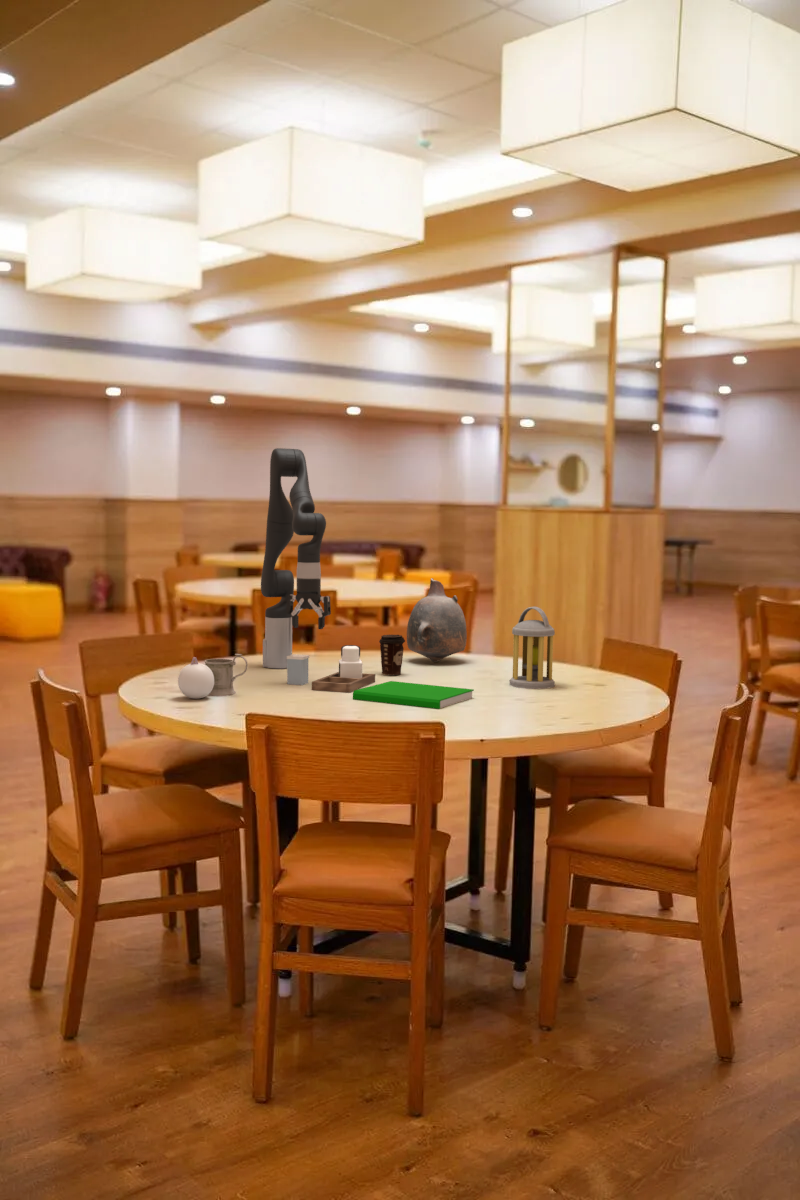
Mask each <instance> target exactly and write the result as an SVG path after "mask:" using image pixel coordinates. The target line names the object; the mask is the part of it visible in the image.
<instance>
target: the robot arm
mask: <svg viewBox="0 0 800 1200" xmlns="http://www.w3.org/2000/svg"><path fill="white" fill-rule="evenodd" d="M269 463H270V464H269V465H270V466H269V497H268V508H267V509H268V510H267V517H266V518H267V519H266V530H265V531H266V532H265V536H266V537H265V549H264V557H263V565H262V569H261V570H262V571H261V578H260V590H261V591H260V592H261V595H262V596H263V597H265V598H281V599H280V601H279V602H277V603H276V604H274V605H272V606H269V607H266V609H265V611H264V612H265V614H264V615H265V617H264V619H265V620H264V624H265V625H264V626H265V629H264V631H265V633H264V634H265V635H264V638H263V639H262V668H269V669H287V656H289V655H293V628H294V629H297V628H299V614H300V612H301V611H303V610H313V611H315V613H316V614H317V615H318V619H317V620H318V622H317V623H318V624H317V625H318V627H317V629H318V630H323V629H324V628H325V626H326V625H325V624H326V623H325V622H326V621H325V620H326V617H327V616H330V615H331V614H332V613H331V612H332V611H331V610H332V609H331V596H329V595H326V596H325V595H324V596H322V595H321V590H322V589H321V583H322V582H321V580H322V579H321V578H322V573H321V572H322V571H321V569H322V568H321V547H322V542H323V537H324V534H325V532H326V528H327V519H326V518H325V516H324V514H322V513H319V512H315V510H316V508H315V507H316V506H315V503H314V499H313V496H312V494H311V489H310V482H309V475H308V474H309V473H308V467H307V461H306V456H305V453H304V452H303V450H301V449H299V448H298V449H297V448H283V447H282V448H281V447H280V448H279V447H278V448H277V447H276V448H274V449H273V450H272V452H271V454H270V461H269ZM282 477H285V478H286V477H287V478H297V479H296V481H295V482H294V483H293V485H292V486H291V488H290V492H289V497H288V498H289V500H288V498H287V497H286V495H285V492H284V490H283V487H282ZM294 533H295V534H296V535H297V536H312V538H311V540H310V541H308V542H303V543H300V544H298V546H297V565H296V566H297V567H296V595H294V593H295V577H294V574H293V571H291V570H289V569H275V568H276V564H277V561H278V559H279V557H280V555H281V554H282V553H283V551H284V550H285V548H286V547H287V546H288V544H289V543H290V542H291V540H292V538H293V536H294ZM295 601H296V602H297V604H296V606H295V607H294V602H295ZM320 603H323V607H322V605H321V604H320Z"/></svg>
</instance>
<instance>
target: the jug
mask: <svg viewBox="0 0 800 1200" xmlns="http://www.w3.org/2000/svg"><path fill="white" fill-rule="evenodd" d="M429 583H430V584H429V590H428V594H427V596H425V597H423V598H421V599H420V600H418V601H417V602H416V604H415V605H414V606H413V609H412V611H411V612H410V616H409V618H408V621H407V627H406V645H407V649H409V650H410V651H412V652H414V653H416V654H419V655H421V656H423V657H425V658H427V659H429V660H431V661H432V662H434V663H435V662H436V663H437V662H439V661H442V660H444V659H446V658H447V657H449V656H451V655H455V654H458V653H460V652H464V650H466V646H467V641H468V640H467V639H468V638H467V637H468V635H467V634H468V633H467V631H468V630H467V623H466V618H465V615H464V611H463V609H462V607H461V606H460V604H459V603H458V600H459V599H458V597H457V595H453V596H452V597H448V596H447V595H446V593H445V588H444V585H443V583H442V582H441V581H439V580H435V579H434V578H432V577H431V578H430V582H429Z"/></svg>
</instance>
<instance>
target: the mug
mask: <svg viewBox="0 0 800 1200" xmlns="http://www.w3.org/2000/svg"><path fill="white" fill-rule="evenodd" d="M234 655H235V656H233V659H230V658H229V659H228V658H210V659H205V660H204V663H205V664H204V665H206V666H208V667H209V668H210V669H211V671H212V673H213V675H214V686H213V689H212V691H211V692H210V693H209V694H208V695H207V696H213V697H215V696H216V697H219V696H221V697H223V696H233V695H235V694H237V692H236V691H235V689H234V685H233V684H234V681H235V679H236V678H237V677H240V676H243V675H244V674H245V673H246V672H247V671H248V665H249V663H248V660H247V658H245V657H244V655H243V654H242V653H235V654H234ZM237 658H241V659H243V660H244V662H245V668H244V670H243V672H240V673H239V674H236V675H235V676H234V666H236V664H237V663H236V659H237Z"/></svg>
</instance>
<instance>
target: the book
mask: <svg viewBox="0 0 800 1200" xmlns="http://www.w3.org/2000/svg"><path fill="white" fill-rule="evenodd" d="M473 691H474V689H473V688H463V687H454V686H453V687H452V686H442V685H436V684H435V685H434V684H424V683H423V684H422V683H413V682H405V681H404V682H403V681H394V680H391V681H386V682H383V683H378V684H375V685H370V686H365V687H362V688H360V689H357V690H354V691H353V693H352V700H356V701H364V702H365V701H366V702H374V703H383V704H391V705H398V706H399V705H400V706H401V705H402V706H409V707H410V706H411V707H418V708H427V709H434V710H435V709H436V710H440V709H442V708H445V707H448V706H451V705H454V704H455V705H456V704H458V703H461V702H464V701H467V700H470V699H472V698H473Z"/></svg>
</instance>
